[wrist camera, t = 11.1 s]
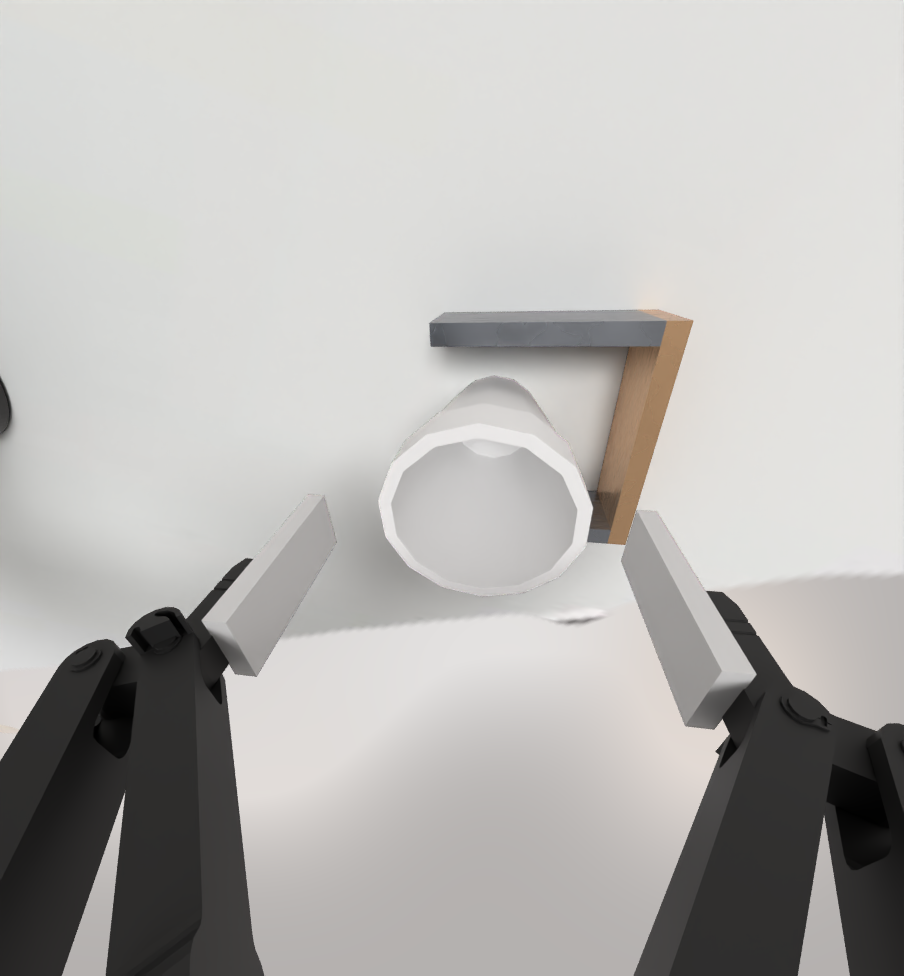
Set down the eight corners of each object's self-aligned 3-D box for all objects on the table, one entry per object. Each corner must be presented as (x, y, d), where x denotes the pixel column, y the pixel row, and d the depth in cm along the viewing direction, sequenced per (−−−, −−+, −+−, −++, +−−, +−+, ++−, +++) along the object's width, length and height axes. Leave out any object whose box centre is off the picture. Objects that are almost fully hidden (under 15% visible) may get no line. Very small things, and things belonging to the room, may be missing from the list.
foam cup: (551, 474, 28) (575, 603, 18) (438, 471, 30) (396, 590, 19) (564, 349, 24) (608, 423, 13) (428, 354, 25) (362, 422, 14)
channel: (450, 495, 31) (440, 531, 27) (444, 312, 23) (429, 323, 19) (609, 504, 29) (625, 544, 25) (658, 309, 22) (693, 320, 17)
